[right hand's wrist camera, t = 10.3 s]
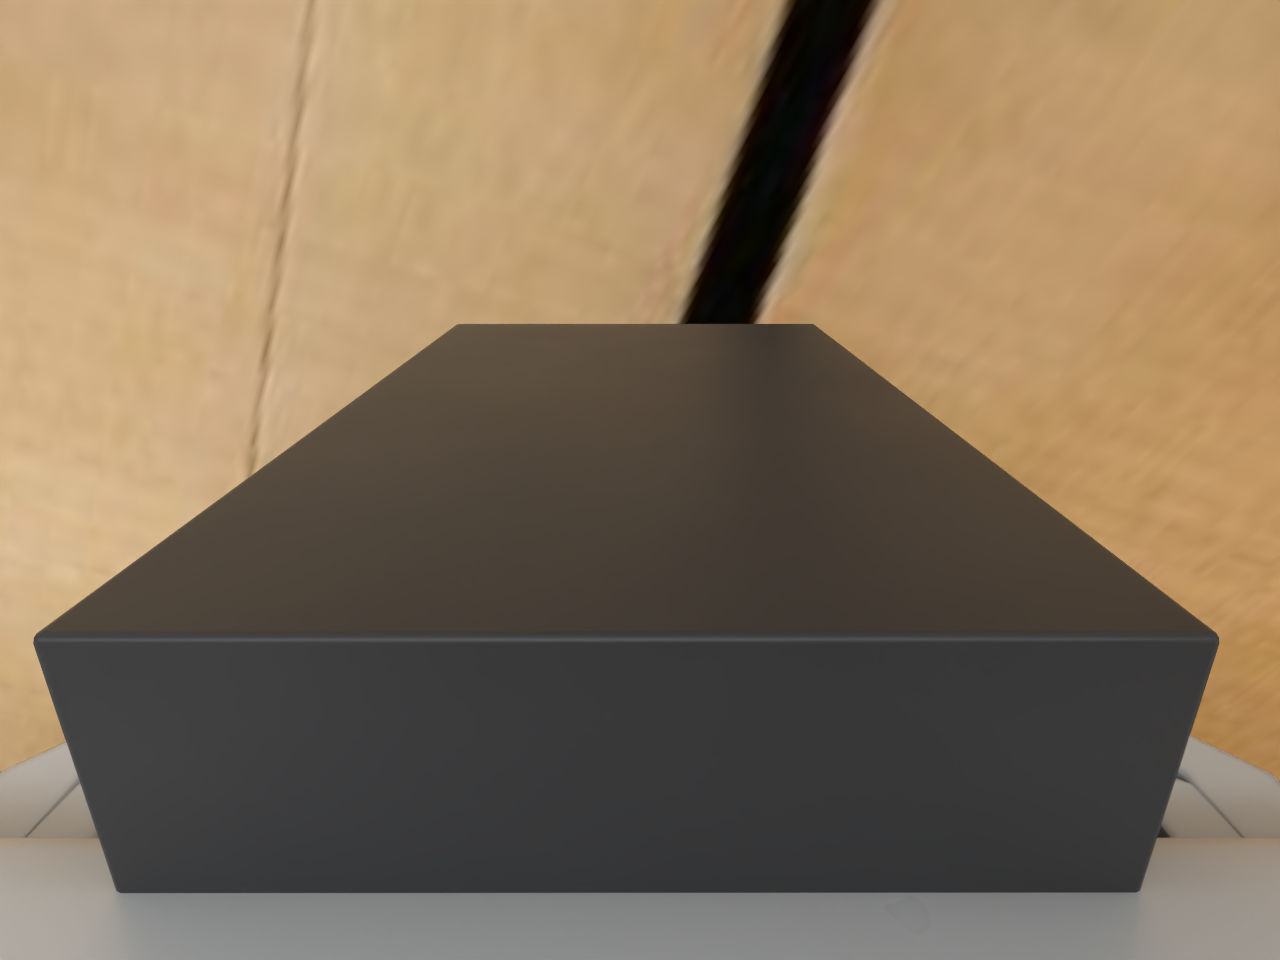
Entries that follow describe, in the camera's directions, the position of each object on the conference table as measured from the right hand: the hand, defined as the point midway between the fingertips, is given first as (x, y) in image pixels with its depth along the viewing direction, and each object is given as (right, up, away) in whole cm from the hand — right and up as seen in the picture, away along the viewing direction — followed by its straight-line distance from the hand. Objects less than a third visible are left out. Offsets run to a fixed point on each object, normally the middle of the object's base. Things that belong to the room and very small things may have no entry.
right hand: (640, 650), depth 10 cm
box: (0, -7, +8) cm, 10 cm away
